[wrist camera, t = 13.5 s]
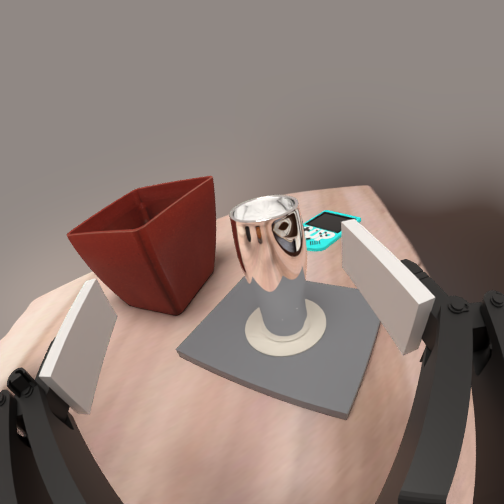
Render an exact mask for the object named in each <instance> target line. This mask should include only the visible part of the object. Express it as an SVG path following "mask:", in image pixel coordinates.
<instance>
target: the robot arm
mask: <svg viewBox="0 0 504 504" xmlns="http://www.w3.org/2000/svg"><path fill="white" fill-rule="evenodd" d="M341 232H342V268H343V269H344V270H345V272H346V273H347V274H348V276H349V277H350V279H351V280H352V281H353V283H354V284H355V285H356V287H357V288H358V290H359V291H360V292H361V294H362V295H363V297H364V298H365V300H366V301H367V302H368V304H369V305H370V307H371V308H372V310H373V311H374V312H375V314H376V315H377V317H378V318H379V320H380V321H381V323H382V324H383V326H384V327H385V329H386V330H387V332H388V333H389V335H390V336H391V338H392V339H393V341H394V342H395V344H396V346H397V347H398V349H399V350H400V352H401V353H402V355H406V354H408V353H410V352H412V351H414V350H417V349H418V348H419V345H420V342H421V340H423V341H424V343H425V344H426V348H425V350H424V352H423V355H422V357H421V359H420V362H422V367H421V372H420V377H419V381H418V386H417V390H416V394H415V398H414V402H413V406H412V410H411V413H410V417H409V420H408V423H407V427H406V430H405V433H404V436H403V439H402V442H401V445H400V447H399V450H398V453H397V456H396V458H395V461H394V463H393V466H392V468H391V471H390V473H389V475H388V478H387V480H386V482H385V484H384V487H383V489H382V491H381V493H380V495H379V497H378V499H377V501H376V503H375V504H446V499H447V495H448V493H449V490H450V487H451V484H452V481H453V477H454V474H455V471H456V467H457V463H458V460H459V456H460V452H461V447H462V443H463V438H464V433H465V428H466V422H467V415H468V408H469V400H470V391H471V388H472V395H473V404H474V415H475V429H476V473H475V487H474V497H473V504H504V295H503V294H502V293H500V292H498V291H488V292H487V293H485V295H484V298H483V300H482V302H477V303H468V302H467V301H466V300H464V299H463V298H461V297H458V296H448V295H447V294H446V293H445V292H444V291H443V290H442V289H441V288H440V287H439V286H438V285H437V284H436V283H435V282H434V281H433V280H432V279H431V278H430V277H429V276H428V275H427V274H426V273H425V272H423V270H422V269H421V268H420V267H419V266H418V265H417V264H416V263H414V262H412V261H410V260H407V259H404V260H401V261H400V260H398V259H397V258H396V257H395V256H394V255H393V254H392V253H391V252H390V251H389V250H388V249H387V248H386V247H385V246H384V245H383V244H382V243H381V242H380V241H378V240H377V239H376V238H375V237H374V236H373V235H372V234H371V233H370V232H369V231H367V230H366V229H365V228H364V227H363V226H362V225H361V224H360V223H358V222H357V221H356V220H355V219H352V220H347V221H343V222H341ZM116 319H117V315H116V313H115V311H114V310H113V308H112V306H111V304H110V303H109V301H108V299H107V297H106V296H105V294H104V292H103V290H102V288H101V286H100V285H99V283H98V281H97V279H92V280H88V281H85V283H84V285H83V286H82V288H81V290H80V292H79V294H78V295H77V297H76V299H75V301H74V303H73V304H72V306H71V308H70V310H69V312H68V314H67V316H66V318H65V320H64V322H63V324H62V326H61V328H60V330H59V332H58V334H57V336H56V337H55V338H54V340H53V341H52V342H51V344H50V346H49V348H48V350H47V353H46V354H45V357H44V358H45V359H43V361H42V364H41V366H40V368H39V371H38V373H37V376H36V378H35V380H34V379H33V378H32V377H31V376H30V375H29V374H28V373H27V371H26V370H25V369H23V368H18V369H16V370H14V371H13V372H12V373H11V375H10V376H9V378H8V381H7V387H8V388H9V389H10V390H11V391H12V392H13V393H14V394H15V396H13V395H12V394H11V393H10V392H9V391H8V390H2V391H1V392H0V504H123V502H122V501H121V500H120V498H119V497H118V495H117V494H116V493H115V491H114V490H113V488H112V487H111V485H110V484H109V482H108V481H107V479H106V478H105V476H104V474H103V473H102V471H101V470H100V468H99V466H98V465H97V463H96V461H95V459H94V458H93V456H92V454H91V452H90V451H89V449H88V447H87V445H86V443H85V441H84V439H83V437H82V435H81V433H80V431H79V429H78V427H77V425H76V423H75V421H74V418H73V416H72V415H71V414H70V413H69V412H68V410H69V407H71V408H72V409H73V410H74V411H75V412H76V413H78V414H90V411H91V406H92V402H93V398H94V394H95V390H96V386H97V382H98V378H99V374H100V371H101V367H102V364H103V360H104V357H105V354H106V350H107V347H108V344H109V341H110V337H111V334H112V331H113V328H114V325H115V322H116ZM17 428H18V429H19V430H21V431H22V432H23V433H24V436H23V437H22V436H21V435H19V434H18V433H17Z"/></svg>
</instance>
